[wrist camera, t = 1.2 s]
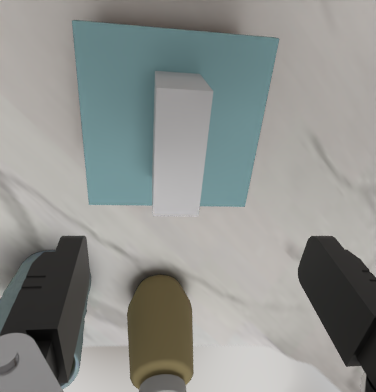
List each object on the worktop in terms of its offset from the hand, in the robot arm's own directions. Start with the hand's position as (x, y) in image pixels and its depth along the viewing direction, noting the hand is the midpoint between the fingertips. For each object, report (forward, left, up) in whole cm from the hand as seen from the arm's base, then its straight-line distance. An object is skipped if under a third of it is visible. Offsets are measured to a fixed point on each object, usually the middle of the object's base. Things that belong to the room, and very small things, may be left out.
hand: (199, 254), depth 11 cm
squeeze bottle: (0, +25, -22) cm, 33 cm away
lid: (0, 0, -15) cm, 15 cm away
